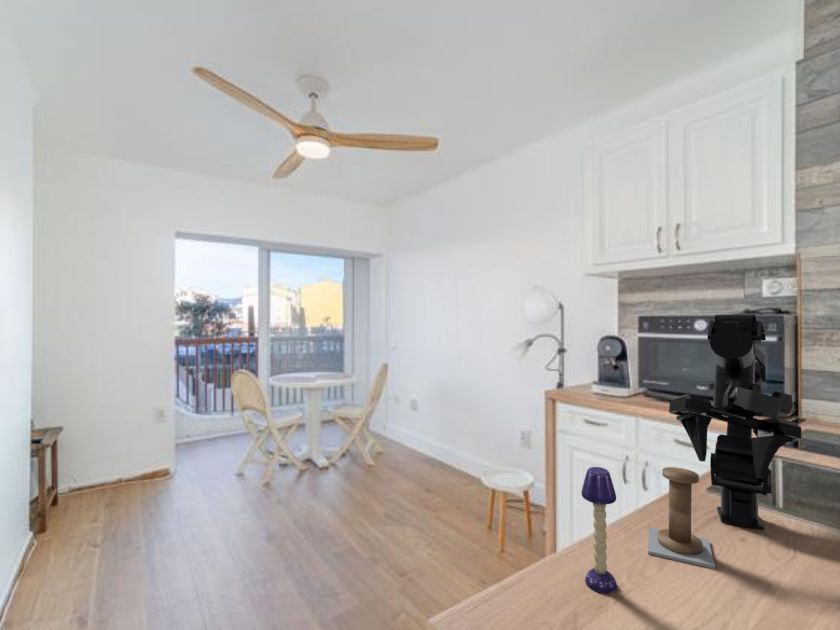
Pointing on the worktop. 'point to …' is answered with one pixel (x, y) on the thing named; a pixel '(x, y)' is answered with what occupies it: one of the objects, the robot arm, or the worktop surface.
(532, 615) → the worktop surface
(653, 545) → the grey mat
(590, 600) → the worktop surface
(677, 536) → the walnut stool
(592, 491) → the toy lamp
